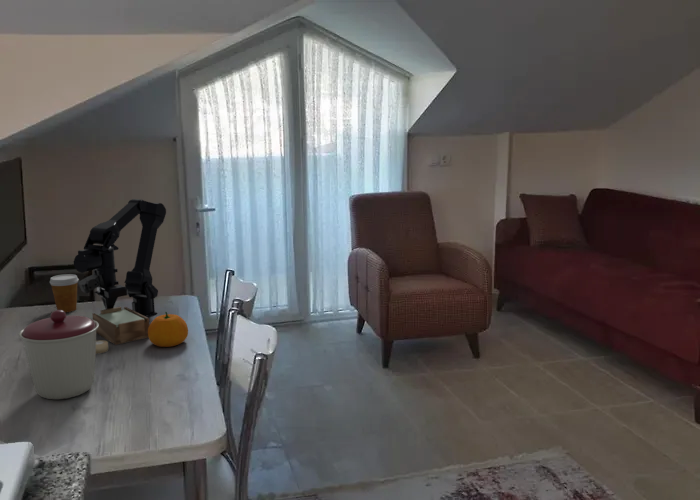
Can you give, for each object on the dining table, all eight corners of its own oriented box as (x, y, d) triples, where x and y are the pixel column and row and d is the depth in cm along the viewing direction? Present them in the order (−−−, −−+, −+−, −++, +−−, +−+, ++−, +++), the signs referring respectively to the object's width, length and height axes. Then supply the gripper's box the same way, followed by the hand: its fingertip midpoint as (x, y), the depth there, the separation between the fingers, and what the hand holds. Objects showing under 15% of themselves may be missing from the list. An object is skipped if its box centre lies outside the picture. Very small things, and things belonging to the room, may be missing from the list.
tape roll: (104, 346, 203) (103, 338, 203) (111, 350, 199) (110, 342, 199) (87, 350, 200) (87, 342, 199) (94, 355, 196) (93, 346, 196)
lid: (124, 311, 222) (123, 305, 221) (144, 321, 211) (144, 315, 210) (96, 316, 216) (96, 311, 215) (116, 327, 205) (115, 321, 204)
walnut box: (127, 324, 224) (125, 306, 223) (150, 337, 211) (148, 318, 210) (93, 331, 217) (92, 313, 216) (115, 345, 204) (114, 325, 203)
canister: (119, 386, 173) (112, 306, 169) (57, 412, 158) (48, 325, 154) (72, 373, 182) (65, 297, 178) (9, 397, 167) (0, 314, 163)
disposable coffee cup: (51, 308, 244) (48, 275, 242) (80, 305, 248) (77, 272, 245) (52, 315, 235) (49, 281, 233) (82, 311, 239) (79, 278, 237)
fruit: (179, 351, 199) (177, 318, 197) (141, 349, 201) (139, 316, 199) (194, 338, 210) (193, 306, 208) (158, 336, 212) (156, 305, 210)
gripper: (69, 265, 218) (73, 311, 221) (91, 275, 204) (95, 324, 207) (103, 260, 225) (107, 305, 228) (126, 269, 212) (130, 317, 215)
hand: (109, 313), depth 220 cm, fingers closed
